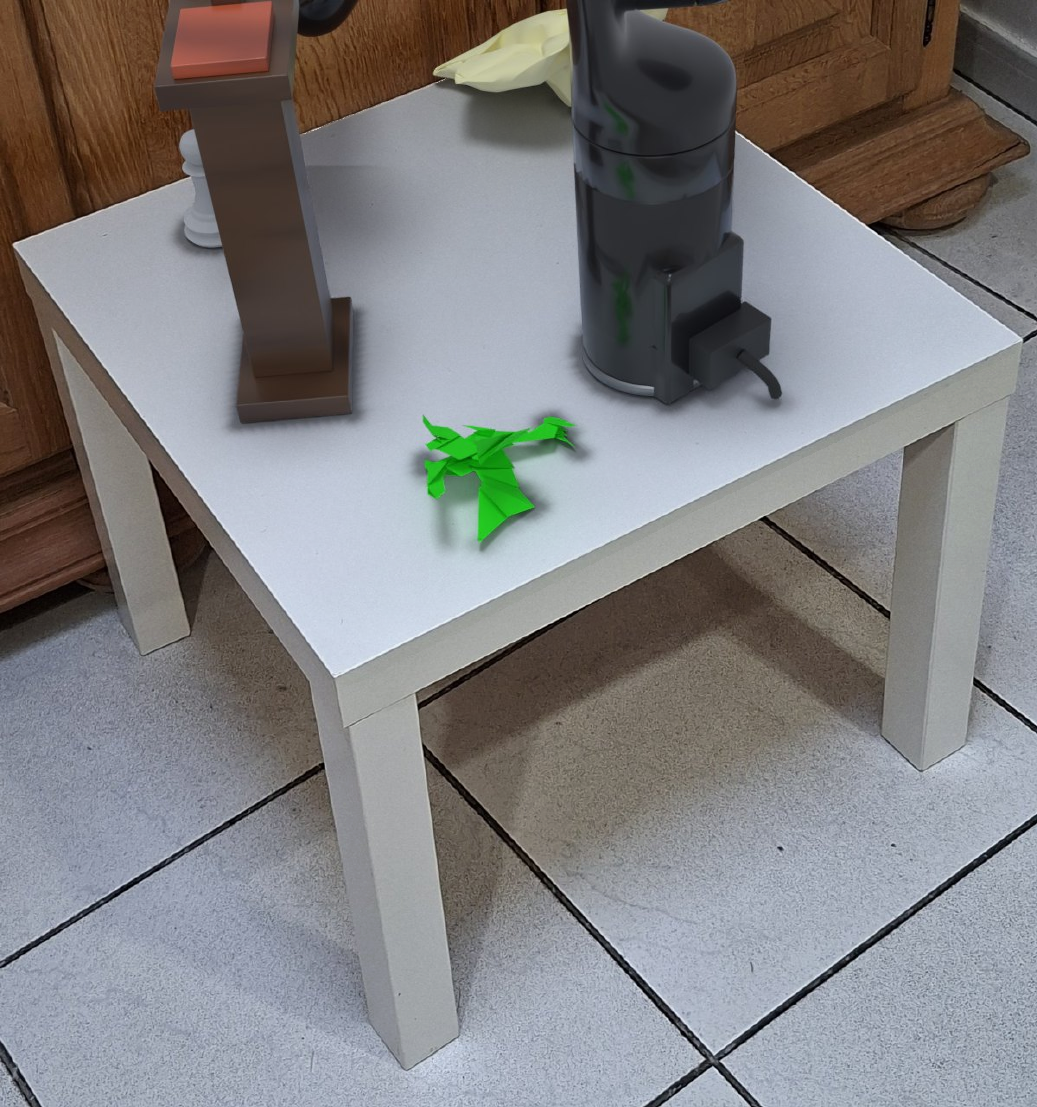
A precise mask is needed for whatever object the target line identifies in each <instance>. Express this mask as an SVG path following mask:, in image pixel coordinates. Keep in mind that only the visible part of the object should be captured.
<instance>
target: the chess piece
mask: <svg viewBox="0 0 1037 1107" xmlns="http://www.w3.org/2000/svg"><path fill="white" fill-rule="evenodd" d="M178 144H179V146H178V149H179V151H180V154H181V156H182V157H183V159H184V160H185V161H184V162H183V163H182V166H181V168H182V171H183V173H185V175H188V176H190V177H191V180H192V183H193V187H194V190H195V197H194V202H193V203H192V205H191V206H190V207H189V208H188V209H187V210H186V211H185V213H184V215H183V222H184V230H183V232H184V235H185V237H186V238H187V239H188V240H189V241H190V242H192V243H193V244H195V245H197V246H199V247H202V248H210V249H212V248H223V247H222V243H221V239H220V235H219V231H218V226H217V222H216V218H215V214H214V210H213V206H212V202H211V198H210V194H209V189H208V185H207V181H206V177H205V173H204V169H203V165H202V161H201V156H200V152H199V148H198V144H197V140H196V136H195V132H194V128H192V129H189V130H188V131H186V132H184V133H183V134H182V135H181V137H180V140H179V143H178Z"/></svg>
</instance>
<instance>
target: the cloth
mask: <svg viewBox="0 0 1037 1107" xmlns="http://www.w3.org/2000/svg"><path fill="white" fill-rule="evenodd" d="M640 11H642V12H643V13H645V14H647V15H649V16H651V17H654V18H656V19H659V20H661V21H665V19H666V17H667V14H668V11H669V8H666V9H650V10H640ZM432 75H433V76H435V77H440V78H444V79H445V78H446V79H452V80H454V83H455V84H456V85H466V86H469V87H472V88H474V89H477V90H480V91H482V92H490V93H501V92H506V91H511V90H515V89H516V90H517V89H522V88H527V87H532V86H538V85H542V84H543V83H544V82H545V83H546V84H547V85H548V86H549V87H550V88H551V89H552V90H553V92H554V93H555V94H556V95H557V97H558V98H559V99H560V100H561V102H563V103H564V104H565V105H566V106H567V107H568V108H569V107H570V108H571V73H570V45H569V28H568V17H567V8H563V9H555V10H547V11H544V12H541V13H537V14H535V15H532V16H530V17H527V18H524V19H522V20H520V21H517V22H515V23H513V24H511V25H509V26H508V27H506V28H504V29H501V30H500V31H499V32H498V33H496V34H495V35H493V36H492V37H490V38H489V39H487V40H486V41H484V42H483V43H481V44H479V45H477V46H475V47H473V48H471V49H469V50H467V51H465V52H464V53H462V54H460V55H458V56H456V57H454V58H451V59H450V60H448V61H446V62H444V63H442V64H440V65H438V66H437V67H435V68H434V70H433V72H432Z"/></svg>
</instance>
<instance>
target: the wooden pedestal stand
mask: <svg viewBox="0 0 1037 1107" xmlns="http://www.w3.org/2000/svg"><path fill="white" fill-rule="evenodd" d="M264 1H272V4H273V9H274V22H273V32H272V43H271V53H270V64H269V71H262V72H251V73H240V74H229V75H217V76H206V77H195V78H184V79H174V78H173V74H172V70H171V61H172V56H173V50H174V44H175V38H176V33H177V27H178V21H179V15H180V10H181V9H186V8H197V7H209V6H212V5H211V0H169V4H168V9H167V13H166V14H167V15H166V20H165V25H164V31H163V36H162V41H161V46H160V52H159V58H158V63H157V69H156V75H155V80H154V85H153V89H154V93H155V97H156V101H157V105H158V108H159V111H160V112H169V111H170V112H171V111H181V110H182V111H183V110H189V115H190V119H191V124H192V127H193V128H192V129H194V132H195V136H196V140H197V144H198V148H199V152H200V156H201V161H202V165H203V169H204V173H205V177H206V181H207V185H208V189H209V194H210V198H211V202H212V206H213V210H214V214H215V218H216V222H217V226H218V231H219V235H220V239H221V243H222V247H221V248H222V251H223V254H224V255H223V256H224V260H225V263H226V264H225V265H226V267H227V272H228V276H229V279H230V284H231V288H232V293H233V296H234V301H235V304H236V308H237V313H238V316H239V321H240V325H241V329H242V330H241V331H242V340H241V341H242V342H241V350H240V361H239V372H238V381H237V392H236V403H235V408H236V411H237V416H238V418H239V422H240V424H246V423H257V422H269V421H281V420H291V419H292V420H293V419H302V418H304V419H305V418H315V417H316V418H317V417H327V416H336V415H337V416H338V415H348V414H352V412H353V376H354V375H353V373H354V372H353V371H354V370H353V369H354V328H355V324H354V323H355V312H354V306H353V301H352V300H353V299H352V297H351V296H341V297H340V296H339V297H331V294H330V288H329V282H328V277H327V271H326V266H325V261H324V256H323V251H322V245H321V241H320V240H321V239H320V235H319V229H318V224H317V219H316V213H315V208H314V203H313V197H312V192H311V188H310V181H309V176H308V171H307V166H306V161H305V155H304V149H303V145H302V140H301V134H300V130H299V129H300V128H299V124H298V123H299V122H298V118H297V113H296V108H295V107H296V106H295V103H294V97H293V95H294V84H295V83H294V82H295V69H296V57H297V56H296V55H297V44H298V43H297V42H298V34H297V30H298V17H299V1H298V0H245V3H253V2H264Z"/></svg>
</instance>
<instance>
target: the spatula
mask: <svg viewBox="0 0 1037 1107" xmlns="http://www.w3.org/2000/svg"><path fill="white" fill-rule="evenodd" d="M211 5H212V6H209V7H197V8H186V9H181V10H180V15H179V21H178V27H177V33H176V38H175V44H174V50H173V56H172V61H171V70H172V74H173V78H174V79H184V78H195V77H206V76H217V75H229V74H240V73H251V72H262V71H269V64H270V53H271V43H272V32H273V22H274V9H273V4H272V1H264V2H253V3H245V0H211Z"/></svg>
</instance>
